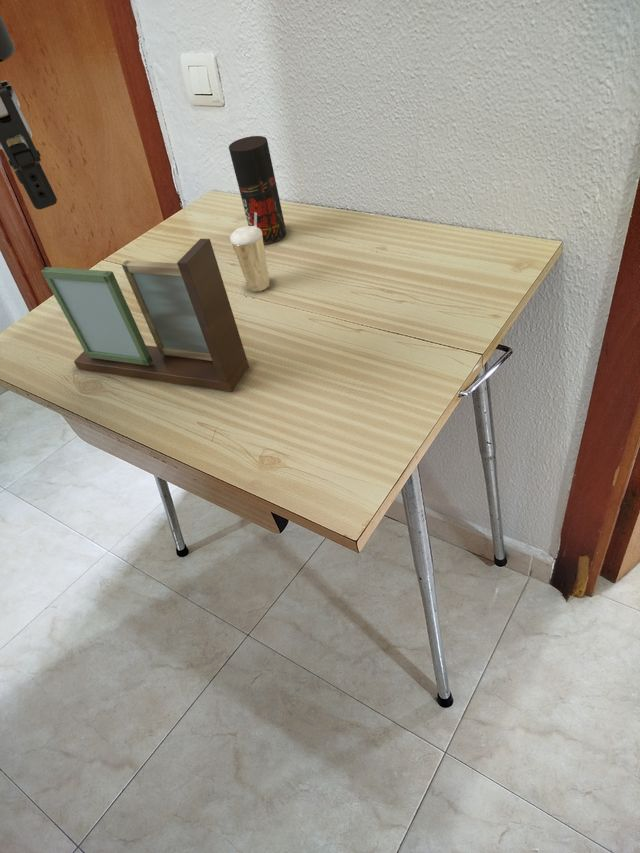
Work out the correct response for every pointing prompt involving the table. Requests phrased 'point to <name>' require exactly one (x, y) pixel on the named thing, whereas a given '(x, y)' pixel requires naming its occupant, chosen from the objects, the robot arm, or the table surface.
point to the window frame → (183, 324)
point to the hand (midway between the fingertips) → (39, 193)
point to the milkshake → (251, 255)
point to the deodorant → (258, 186)
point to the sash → (98, 314)
